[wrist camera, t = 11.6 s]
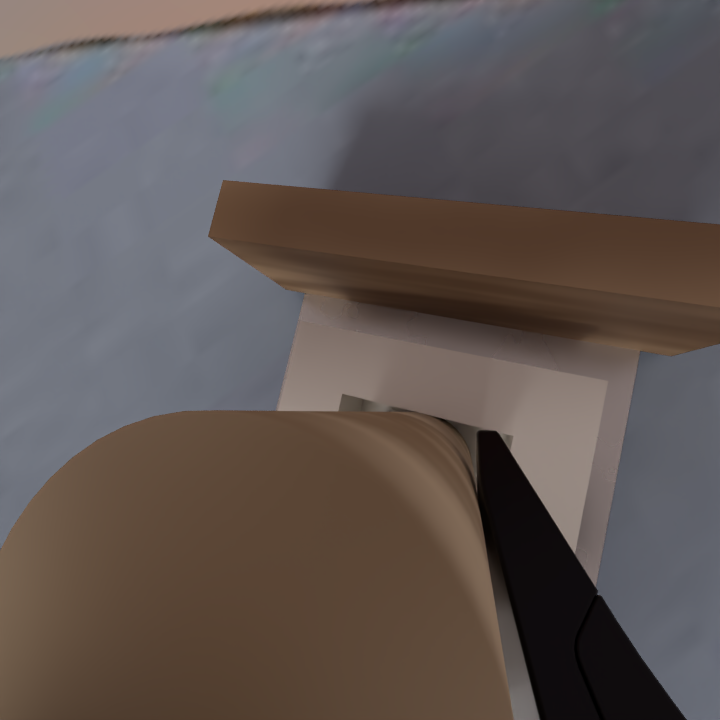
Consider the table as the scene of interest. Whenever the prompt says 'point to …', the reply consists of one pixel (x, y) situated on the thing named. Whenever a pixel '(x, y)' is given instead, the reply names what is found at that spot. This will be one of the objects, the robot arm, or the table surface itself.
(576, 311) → the rail base
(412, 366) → the socket block
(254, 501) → the dowel
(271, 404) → the table surface
